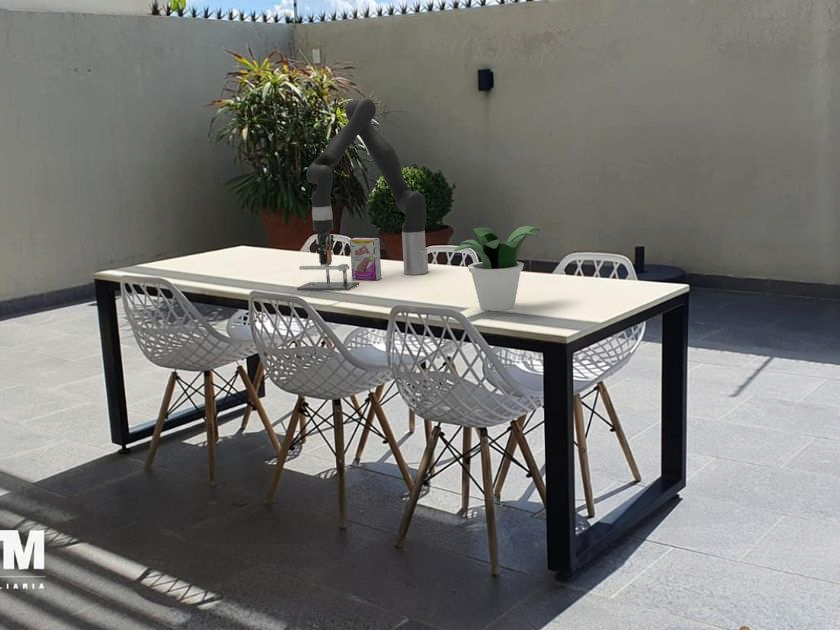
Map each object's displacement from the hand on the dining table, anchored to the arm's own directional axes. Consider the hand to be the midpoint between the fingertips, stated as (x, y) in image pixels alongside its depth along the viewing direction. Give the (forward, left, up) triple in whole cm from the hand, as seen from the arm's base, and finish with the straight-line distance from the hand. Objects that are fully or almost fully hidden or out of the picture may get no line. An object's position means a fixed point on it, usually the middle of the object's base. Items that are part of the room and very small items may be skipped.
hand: (325, 263), depth 374 cm
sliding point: (0, 0, -8) cm, 8 cm away
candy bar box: (-9, -19, -10) cm, 23 cm away
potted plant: (-75, +31, -10) cm, 82 cm away
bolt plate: (0, -1, -10) cm, 10 cm away
